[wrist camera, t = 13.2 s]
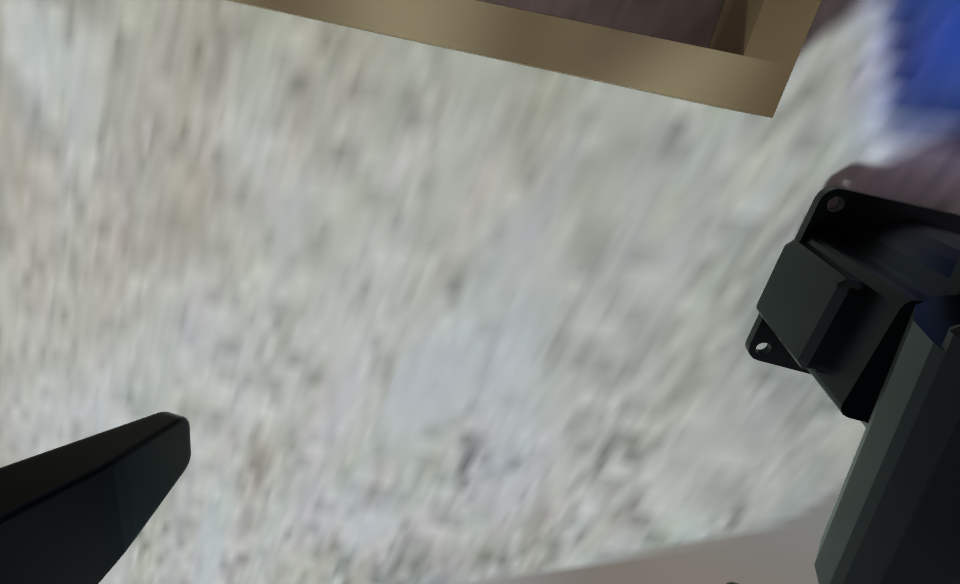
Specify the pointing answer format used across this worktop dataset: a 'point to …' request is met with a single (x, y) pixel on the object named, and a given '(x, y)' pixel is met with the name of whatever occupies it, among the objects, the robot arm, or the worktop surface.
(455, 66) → the worktop surface
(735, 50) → the three-sided wooden wall
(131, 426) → the robot arm
